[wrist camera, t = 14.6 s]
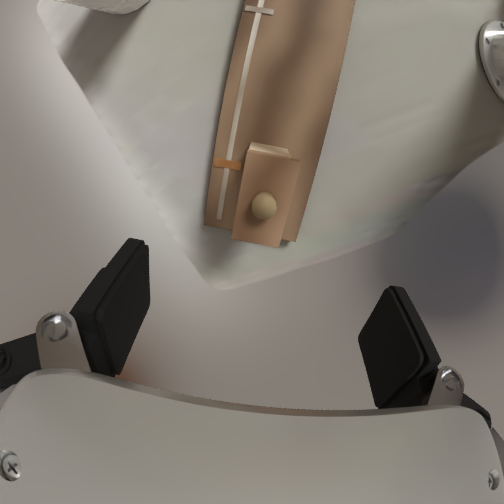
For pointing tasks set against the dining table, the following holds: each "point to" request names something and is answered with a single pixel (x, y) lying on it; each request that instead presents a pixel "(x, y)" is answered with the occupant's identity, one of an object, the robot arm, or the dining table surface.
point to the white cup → (109, 5)
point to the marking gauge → (265, 194)
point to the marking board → (278, 96)
